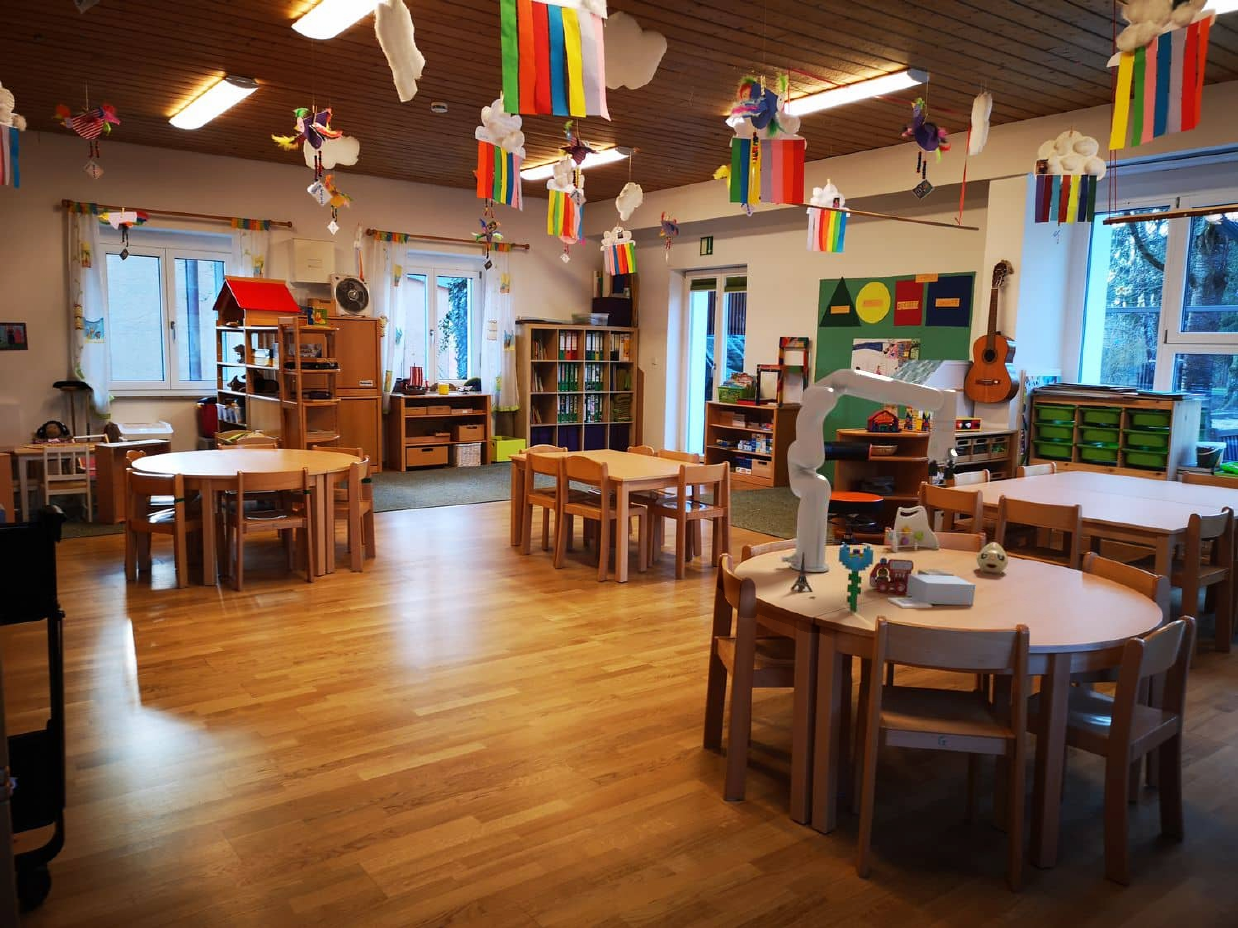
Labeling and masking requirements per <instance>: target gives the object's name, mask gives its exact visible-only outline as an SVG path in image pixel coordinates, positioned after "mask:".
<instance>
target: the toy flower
mask: <svg viewBox="0 0 1238 928" xmlns="http://www.w3.org/2000/svg"><path fill="white" fill-rule="evenodd" d="M862 550H863V552H861V549H858V548H853V549H852V551H851V546H848V544H847V543H843V546H840V547H839V552H838V563H841V566H844V567H845V568H844V569H846V570H849V571H851V573H848V577H847V578H848V579H847V580H848V581H850V584H848V583H847V587H846V588H847V590H846V592H847V593H850V594H849V595H846V603H849V611H850V612H857V609H858V608H857V607H858V595H861V594H862V587H861V586H859V585H860V584H862V580H863V579H862V578H863V577H862V576H859V573H860V572H863V571H866V569H867V568H870V565H873V564H874V549H871V545H866V547H863V549H862Z"/></svg>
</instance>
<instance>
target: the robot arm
mask: <svg viewBox="0 0 1238 928" xmlns="http://www.w3.org/2000/svg"><path fill="white" fill-rule="evenodd" d="M843 395H847V396H851V397H856V398H859V399H865V400H868V401H874V402H876V403H881V404H885V405H886V404H887V405H898V406H899V405H900V406H905V407H910V408H911V409H913V410H914V411H915V410H916V411H918V412H928V413H932V419H931V429H930V434H929V436H928V437H929V438H928V445H927V450H926V454H927V455H926V458H927V464H928V468H927V470H928V471H927V476H928V477H937V476H938V471H939V470H938V469H939V464H938V462H943V464H944V466H945V467H943V477H942V478H943V480H944V481H945V480H947V481H951V480H954V469H955V467H956V464H957V459H958V454H957V453H956V428H957V426H956V424H957V413H958V400H959V399H958V397H959V394H958V392H957V390H954V389H937V388H933V387H929V386H927V385H926V386H925V385H921V384H916V383H913V382H908V381H902V380H900V379H897V378H896V379H895V378H891V377H888V376H883V375H879V374H876V373H872V372H867V371H863V370H859V369H854V368H841V369H837V370H835V371H834V372H832V373H830V374H828V375H827V376H825V377H823V378H821V379H820V380H818V381H816V382H815V383H813V384H811V385H809V386H808V387H806V388H805V389H804V390H803V392H802V394H801V399H800V402H801V405H802V406H801V407H800V409H799V411H798V414H797V416H796V422H795V431H796V432H795V433H796V434H795V436H796V439H795V440H794V441H793V442H792V443H791V444H790V445H789V447H788V450H787V467H788V479H789V484H790V489H791V491H792V493H793V494H794V495H795V496H796V497H798V498H799V499H800V502H799V505H798V509H797V519H796V520H797V521H796V522H797V524H796V525H797V527H796V546H795V547H796V548H795V552H793V553H792V555H789V556H788V555H782V556H781V558H780V559H781V560H780V561H781V562H782V563H790V567H791V568H792V569H793V570H797V571H800V570H801V563H802V553H803V550H804V553H805V555H804V567H805V572H807V573H823V572H828V571H830V565H829V564H827V563H826V545H827V530H828V529H827V528H828V527H827V526H828V511H829V505H830V504H829V503H830V499H831V495H832V494H831V493H832V488H831V484H830V482H829V480H828V479H827V478H826V477H825V476H824V475H823V474H820V473H817V469H819V468H821V467H822V466H823V465H824V462H825V458H826V454H825V444H824V432H823V431H824V429H823V428H824V426H823V425H824V421H825V418H826V417H827V416H828V414H829V413H830V412H831V411H832V410H833V409H834V408H835V407H836V406H837V403H838V399H839V398H840V397H842V396H843Z"/></svg>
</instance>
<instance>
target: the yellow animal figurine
mask: <svg viewBox="0 0 1238 928" xmlns="http://www.w3.org/2000/svg"><path fill="white" fill-rule="evenodd" d="M976 563H977V566H978V567H979V568H980V571H981V572H986V573H989V572H991V574H999V573H1001V574H1002V572H1003V571H1004V570H1005V569H1006V568H1007V567H1008V565H1009V559H1008V555H1007V554H1006V551H1005V550H1004V548H1003V547H1002V546H1001V544H999V543H998V542H996V541H995V542H993V541H991V542H990V543H988V544H987V545H984V547H983V548H982V549H981V550H980V551H979V553H978V554H977V556H976Z"/></svg>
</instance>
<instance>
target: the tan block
mask: <svg viewBox="0 0 1238 928" xmlns="http://www.w3.org/2000/svg"><path fill="white" fill-rule="evenodd" d="M917 575H943V576H955V574H954V573H953V572H949V571H947V570H945V569H943V568H940V569H939V568H938V569H937V568H933V569H930V568H929V569H928V568H927V569H925V568H924V569H922V568H920V569H918V570H917Z"/></svg>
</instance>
